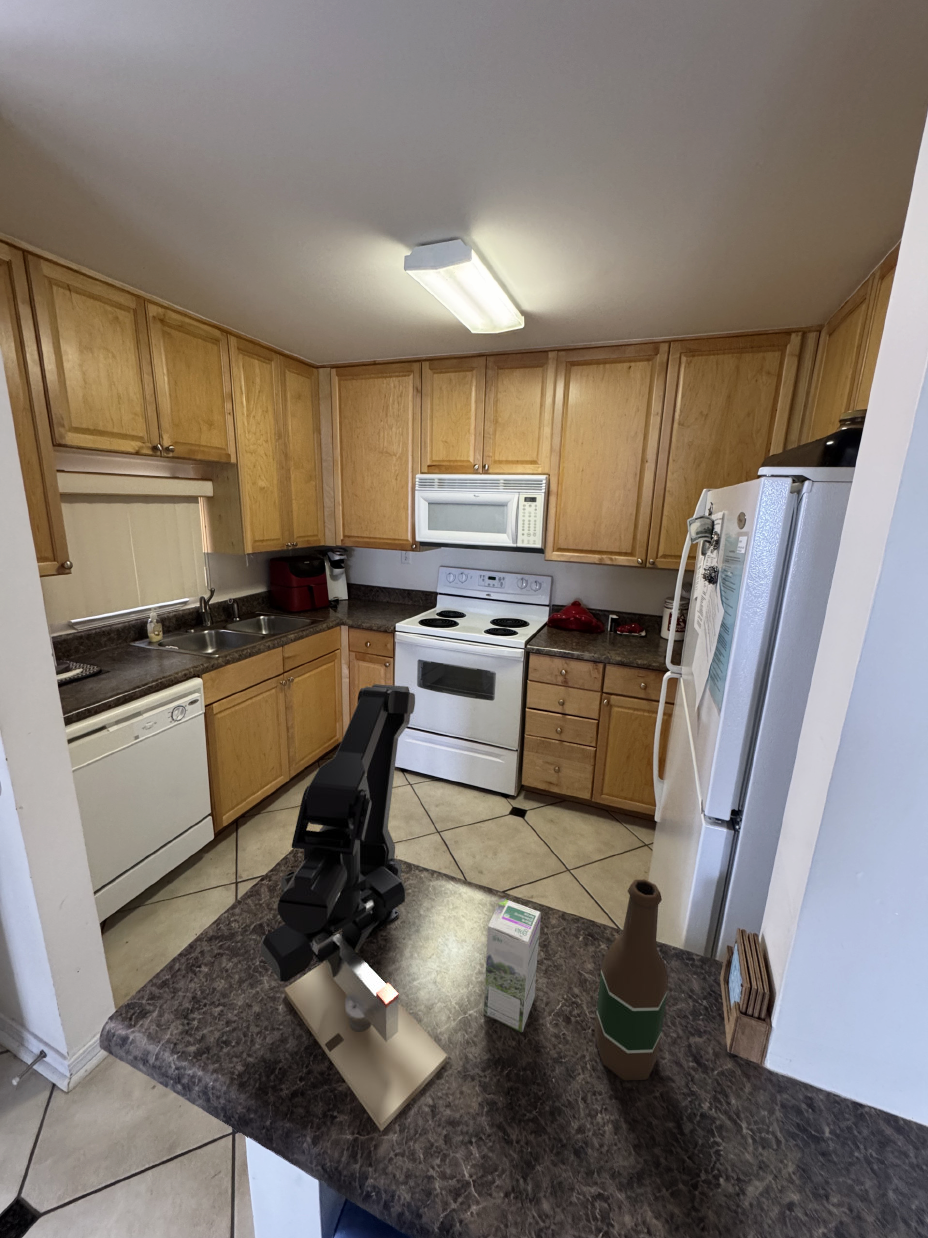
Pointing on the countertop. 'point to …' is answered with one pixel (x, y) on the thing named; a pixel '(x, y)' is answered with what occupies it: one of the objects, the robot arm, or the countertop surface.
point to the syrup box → (511, 963)
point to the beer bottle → (633, 990)
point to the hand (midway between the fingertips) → (339, 970)
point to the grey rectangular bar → (366, 992)
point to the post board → (367, 1047)
